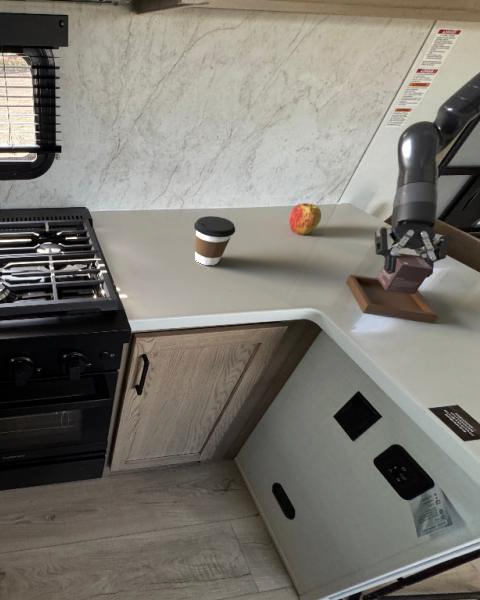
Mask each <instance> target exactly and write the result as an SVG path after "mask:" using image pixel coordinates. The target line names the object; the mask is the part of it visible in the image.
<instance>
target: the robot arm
mask: <svg viewBox="0 0 480 600" xmlns="http://www.w3.org/2000/svg"><path fill="white" fill-rule="evenodd" d="M479 115H480V71H479V72H478V73H477V74H475V75H474V76H473V77H472V78H470V80H468V81H466V83H464V84H463V85H462V86H460V88H459V89H458V90H456V91H455V92H454V93H453V94H452V95H451V96H449V98H447V99H446V100H445V101H444V102H443V103H442V104H441V105H440V106H439V107H438V109H437V113H436V117H435V119H434V120H433V121H430V120H422V121H417V122H415V123H412V124H410V125H408V127H406V128H405V129H404V130H403V131H402V133H401V134H400V136H399V138H398V141H397V166H398V173H397V179H396V189H395V194H394V198H393V203H392V214H391V223H390V225H391V227H390V228H388V229H387V227H381V228H379V229H377V230H376V231H374V248H375V251H374V252H375V255H377V256H382V257H384V262H383V263H384V264H383V267H384V270H385V271H386V273H388V274H391V273H394V272H395V270H396V261H397V257H396V256H395V255H396V254H397V253H399V252H400V251H401V250H402V249H408V250H412V251H413V250H414V251H415V254H416V255H417V256H421V257H423V259H424V260H425V261H426V262H427V263H428V264H429V265H430V266H431V267H432V268H433V269H432V270H431V271H430V273H429V274H428V276H427V277H426V278H425V279H427V278H430V277H431V276H432V275H433V274H434V267H435V263H436V262H438V261H441V260H444V259H446V258H447V254H448V251H449V246H450V243H451V239H452V236H451V234H449V233H446V234H444V235H443V234H438V233H436V231H435V225H436V221H437V209H438V199H439V194H438V193H439V191H438V180H439V166H438V163H437V156H439V155H440V154H441V153H442V152H444V151H445V150H446V149H447V148H448V147H449V146H450V144H452V142H454V140H455V139H456V138H457V137H459V135H460V134H461V132H463V130H464V129H465V128H466V127H467V125H469V123H470V122H471V121H472V120H474V119H475V118H477V117H478V116H479ZM389 237H390V238H391V239H392V243H391V244H390V246H389V243H388V238H389ZM432 240H433V242H431V241H432ZM433 245H434V246H433Z"/></svg>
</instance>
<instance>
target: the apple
mask: <svg viewBox="0 0 480 600" xmlns="http://www.w3.org/2000/svg"><path fill="white" fill-rule="evenodd" d="M321 219H322V211H321V209H320V208H319V207H318V206H317V205H315V204H313V203H309V202H304V203H299V204H297V205H295V206H294V207H293V208H292V210H291V212H290V213H289V217H288V222H289V228H290V230H291V232H292V233H293V234H297V235H302V236H303V235H308V234H310V233H312V232H313V231H314V230H315V229H316V228H317V227H318V225H319V224H320V222H321Z"/></svg>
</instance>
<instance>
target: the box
mask: <svg viewBox="0 0 480 600" xmlns="http://www.w3.org/2000/svg"><path fill="white" fill-rule="evenodd" d="M395 256H396V257H397V261H396V270H395V272H394V273H391V274H388V273H386V271H385V270H384V266H383V267H382V268H381V270H380V272H379V273H378V275H377V277H376V278H378V280H379V281H380V283H381V284H382V286H383V287H384V289H385V290H387V291H394V292H401V293H408V294H415V293H416V291H417V290H418V291H419V289H420V287H421V286H422V284H423V283H424V281H425V280H426V279H427V278H428V277H427V276H428V274H429V273H430V271H431V270H432V269H433V270H434V267H433V268H432V267H431V266H430V265H429V264H428V263H427V262H426V261H425V260H424V259H423V257H421V256H419V255H418V254H407V253H401V252H400V253H399V252H398V253H397V254H396V255H395ZM426 277H427V278H426Z"/></svg>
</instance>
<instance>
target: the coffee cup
mask: <svg viewBox="0 0 480 600" xmlns="http://www.w3.org/2000/svg"><path fill="white" fill-rule="evenodd" d="M193 229H194V230H195V234H194V235H195V237H194V238H195V239H194V252H195V254H194V258H195V261H196V260H197V261H196V263H197V262H199V263H201V264H204V265H214V266H216V265H217V264H218V263H219V262H220V260H221V257H222V256H223V255H224V253H225V250H226V248H227V247H228V244H229V242H230V240H231V237H232V236H233V235H234V234H235V233H236V227H235V224H234V222H232V221H231V220H230V219H228V218H225V217H220V216H212V215H210V216H202V217H200V218H198V219H197V220H196V221H195V222H194V225H193ZM199 263H198V264H199ZM201 264H200V265H201ZM215 264H216V265H215ZM204 265H203V266H204Z"/></svg>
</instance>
